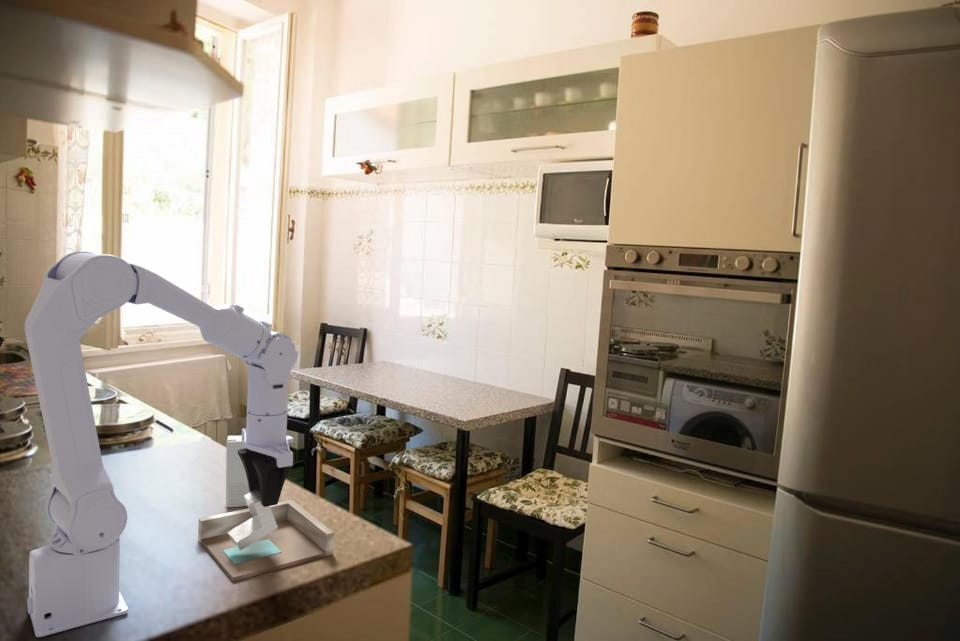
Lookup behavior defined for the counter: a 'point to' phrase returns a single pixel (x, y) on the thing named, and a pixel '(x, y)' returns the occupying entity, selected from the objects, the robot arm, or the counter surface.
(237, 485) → the skincare box
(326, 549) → the corner arena
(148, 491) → the counter surface
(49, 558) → the robot arm
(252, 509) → the aluminium bracket
